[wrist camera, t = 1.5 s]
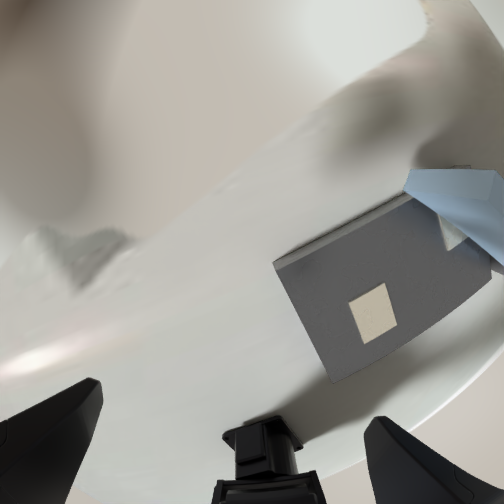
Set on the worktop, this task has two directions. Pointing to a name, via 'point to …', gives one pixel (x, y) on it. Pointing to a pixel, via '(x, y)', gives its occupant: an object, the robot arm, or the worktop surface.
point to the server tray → (381, 282)
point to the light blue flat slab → (466, 204)
